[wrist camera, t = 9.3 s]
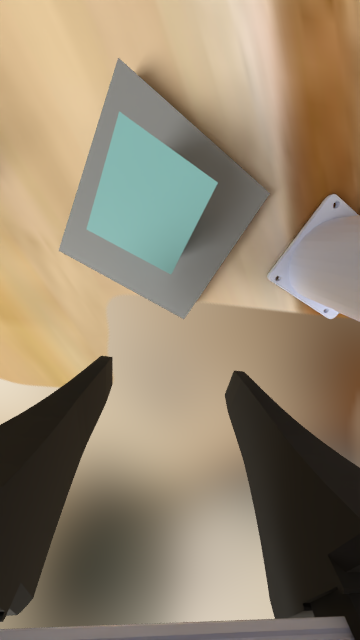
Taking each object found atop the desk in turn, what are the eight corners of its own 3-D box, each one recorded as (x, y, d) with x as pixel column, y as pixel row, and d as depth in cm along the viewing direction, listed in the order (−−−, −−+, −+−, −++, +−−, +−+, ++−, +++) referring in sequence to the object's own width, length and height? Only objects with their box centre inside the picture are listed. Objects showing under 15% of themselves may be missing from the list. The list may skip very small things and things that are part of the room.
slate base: (255, 200, 15) (270, 193, 13) (182, 309, 19) (184, 319, 17) (128, 91, 12) (118, 57, 10) (74, 248, 16) (58, 250, 14)
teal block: (199, 204, 13) (218, 182, 8) (172, 260, 15) (171, 274, 9) (144, 167, 12) (119, 111, 7) (121, 232, 14) (86, 229, 8)
